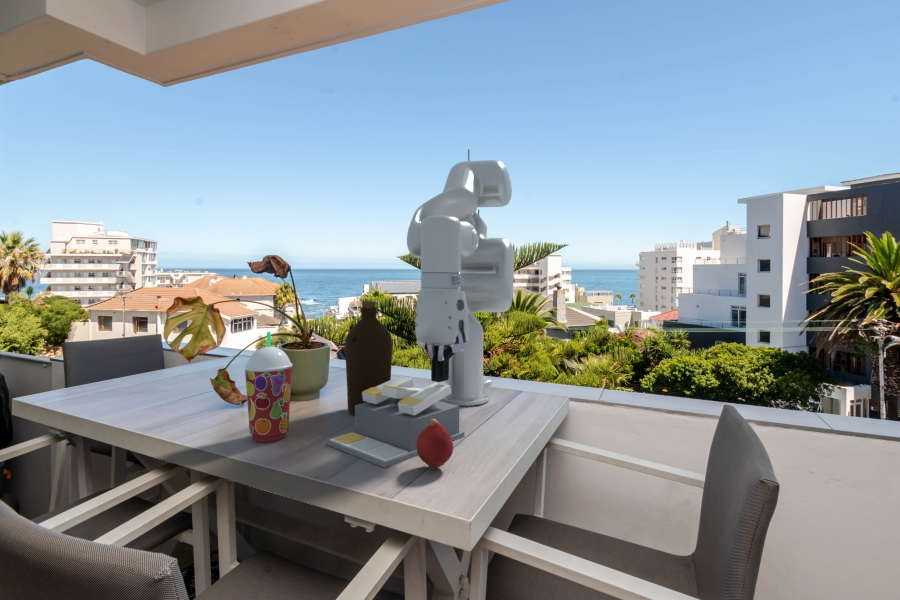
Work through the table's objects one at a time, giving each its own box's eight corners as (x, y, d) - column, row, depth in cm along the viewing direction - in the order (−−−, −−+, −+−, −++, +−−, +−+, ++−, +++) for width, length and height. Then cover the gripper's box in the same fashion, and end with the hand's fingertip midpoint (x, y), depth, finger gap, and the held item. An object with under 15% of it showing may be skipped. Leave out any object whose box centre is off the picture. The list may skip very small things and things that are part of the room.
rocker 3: (436, 394, 89) (435, 381, 88) (451, 398, 86) (450, 384, 86) (400, 416, 81) (397, 401, 81) (415, 420, 79) (412, 405, 78)
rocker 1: (401, 387, 95) (399, 374, 95) (414, 390, 93) (412, 377, 92) (363, 405, 88) (361, 391, 87) (376, 409, 85) (374, 395, 85)
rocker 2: (417, 401, 92) (419, 387, 92) (431, 404, 89) (433, 390, 90) (380, 400, 84) (382, 385, 85) (394, 404, 82) (396, 388, 82)
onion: (442, 459, 76) (443, 411, 76) (459, 472, 71) (460, 421, 71) (410, 465, 74) (410, 416, 73) (426, 479, 69) (426, 426, 68)
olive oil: (389, 417, 99) (390, 302, 98) (340, 417, 99) (340, 302, 98) (394, 404, 110) (394, 300, 109) (349, 404, 110) (349, 300, 109)
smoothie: (278, 427, 92) (277, 328, 91) (301, 436, 87) (301, 331, 86) (236, 438, 86) (235, 332, 85) (259, 449, 80) (258, 335, 80)
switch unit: (406, 419, 98) (406, 385, 98) (464, 436, 88) (464, 398, 87) (326, 444, 83) (326, 403, 83) (385, 468, 73) (385, 422, 72)
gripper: (485, 283, 84) (483, 383, 84) (425, 283, 93) (425, 372, 94) (459, 283, 78) (458, 390, 79) (398, 283, 88) (398, 378, 88)
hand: (440, 380), depth 86 cm, fingers closed
